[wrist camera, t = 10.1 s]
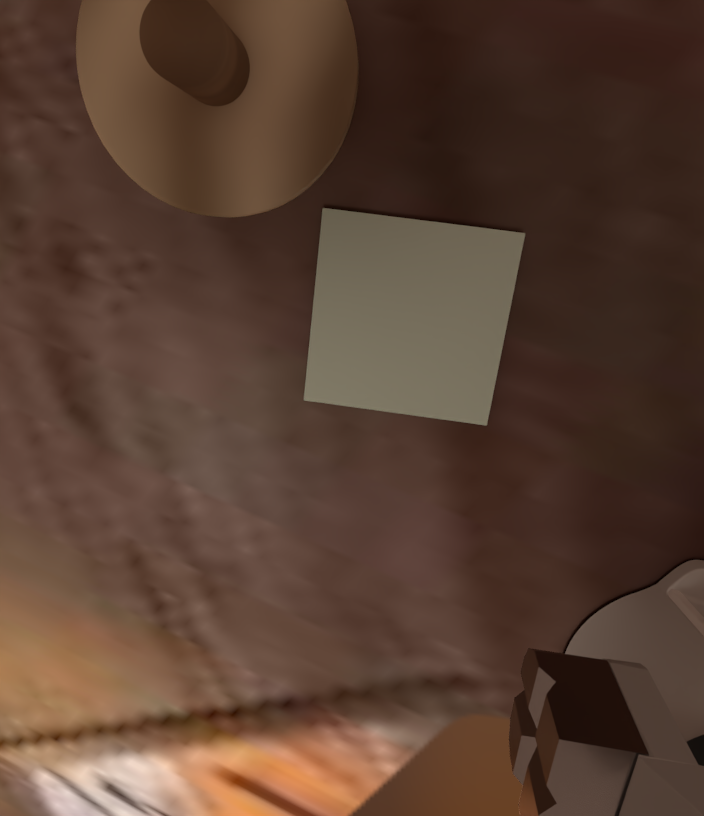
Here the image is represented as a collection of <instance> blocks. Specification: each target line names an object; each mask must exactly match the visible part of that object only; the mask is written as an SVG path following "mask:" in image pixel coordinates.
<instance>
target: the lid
mask: <svg viewBox="0 0 704 816" xmlns="http://www.w3.org/2000/svg"><path fill="white" fill-rule="evenodd" d="M76 59H77V72H78V77H79V83H80V88H81V93H82V96H83V99H84V103H85V106H86V109H87V112H88V114H89V117H90V119H91V121H92V124H93V126H94V128H95V131H96V132H97V134H98V136H99V138H100V139H101V141H102V143H103V145H104V146H105V148H106V149H107V151H108V152H109V153H110V155H111V156H112V158H113V159H114V160H115V162H116V163H117V164H118V165H119V166H120V167H121V169H122V170H123V171H124V172H125V173H126V174H127V175H128V176H129V177H130V178H131V179H132V180H133V181H135V182H136V183H137V184H138V185H139V186H140V187H142V188H143V189H144V190H146V191H147V192H149V193H150V194H152V195H153V196H155V197H156V198H158V199H159V200H161V201H163V202H165V203H167V204H169V205H171V206H173V207H176V208H179V209H182V210H185V211H188V212H190V213H195V214H200V215H205V216H214V217H231V218H233V217H245V216H252V215H256V214H261V213H265V212H268V211H270V210H273V209H275V208H278V207H280V206H282V205H284V204H286V203H288V202H289V201H291V200H293V199H295V198H296V197H298V196H299V195H300V194H302V193H303V192H304V191H306V190H307V189H308V188H309V187H310V186H311V185H312V184H313V183H314V182H315V181H316V180H317V179H318V178H319V177H320V176H321V175H322V174H323V173H324V171H325V170H326V169H327V168H328V166H329V165H330V164H331V162H332V161H333V159H334V158H335V156H336V154H337V153H338V151H339V149H340V147H341V146H342V143H343V141H344V139H345V137H346V134H347V132H348V130H349V127H350V123H351V120H352V117H353V113H354V110H355V104H356V98H357V93H358V79H359V62H358V48H357V43H356V37H355V32H354V27H353V22H352V18H351V15H350V12H349V8H348V5H347V2H346V0H82V3H81V7H80V11H79V18H78V24H77V33H76Z"/></svg>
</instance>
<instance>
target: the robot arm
mask: <svg viewBox="0 0 704 816" xmlns="http://www.w3.org/2000/svg"><path fill="white" fill-rule="evenodd" d="M521 677H522V681H523V686H524V691H523V692H521V693H520V694H519V695H517V696H516V697H515V698H514V702H513V707H512V712H511V717H510V732H509V747H510V759H511V765H512V771H513V774H514V775H515V776H516V777H517V779H518V780H519V781H520V782H521V784H522V785H523V788H522V791H521V796H520V800H519V804H518V806H519V811H520V816H704V561H703V560H690V561H687V562H685V563H683V564H681V565H680V566H678V567H677V568H675V569H674V570H673V571H671V572H670V573H669V574H668V575H666V576H665V577H664V578H663V579H662V580H660V581H659V582H658V583H657V584H655V585H653V586H651V587H649V588H647V589H644V590H641V591H639V592H636V593H633V594H630V595H627V596H625V597H622V598H620V599H618V600H616V601H614V602H612V603H610V604H609V605H607V606H605V607H604V608H602V609H601V610H599V611H598V612H596V613H595V614H594V615H593V616H591V617H590V618H589V619H588V620H587V621H586V622H585V623H584V624H583V625H582V626H581V627H580V629H579V630H578V631H577V632H576V634H575V635H574V637H573V638H572V640H571V641H570V643H569V645H568V647H567V650H566V652H565V654H563V653H557V652H550V651H544V650H538V649H531V648H528V650H527V652H526V654H525V656H524V659H523V663H522V668H521Z"/></svg>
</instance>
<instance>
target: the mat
mask: <svg viewBox="0 0 704 816" xmlns="http://www.w3.org/2000/svg"><path fill="white" fill-rule="evenodd" d="M524 238H525V233H520V232H512V231H504V230H496V229H488V228H480V227H472V226H464V225H456V224H448V223H440V222H432V221H424V220H416V219H408V218H400V217H392V216H384V215H376V214H368V213H360V212H352V211H344V210H336V209H328V208H323V210H322V220H321V230H320V240H319V250H318V260H317V270H316V281H315V291H314V301H313V311H312V321H311V331H310V341H309V351H308V361H307V371H306V382H305V392H304V400H305V401H313V402H320V403H327V404H334V405H342V406H349V407H356V408H363V409H371V410H378V411H385V412H392V413H400V414H407V415H414V416H421V417H429V418H436V419H443V420H450V421H458V422H465V423H472V424H479V425H487V422H488V417H489V412H490V407H491V402H492V397H493V392H494V387H495V382H496V377H497V372H498V367H499V362H500V357H501V352H502V347H503V342H504V337H505V332H506V327H507V322H508V317H509V312H510V307H511V302H512V297H513V292H514V287H515V282H516V277H517V273H518V268H519V263H520V258H521V253H522V248H523V243H524Z"/></svg>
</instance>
